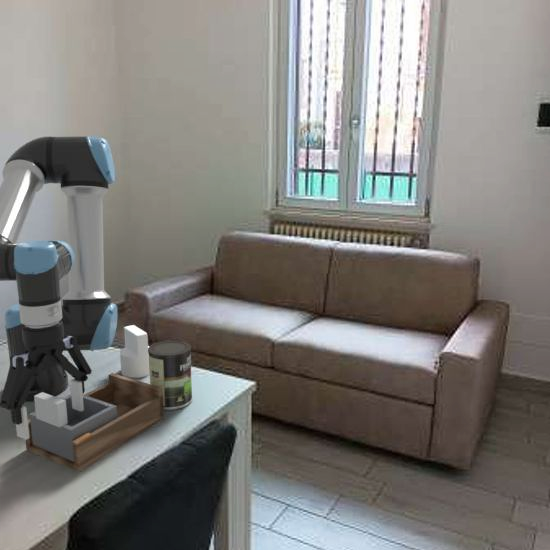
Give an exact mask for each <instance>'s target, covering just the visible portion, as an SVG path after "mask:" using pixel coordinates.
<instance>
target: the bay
mask: <svg viewBox="0 0 550 550" xmlns="http://www.w3.org/2000/svg"><path fill="white" fill-rule="evenodd" d="M83 395H86V396H89V397H92V398H94V399H97V400H100V401H103V402H106V403H109V404H112V405H115V406H117V419H115V420H113V421H111V422H110V423H108V424H106V425H104V426H102V427H101V428H99V429H97V430H95V431H93V432H92V433H86V434H85V435H83V436H81V437H79V438H77V439H76V440H74V441H72V445H73V456H74V462H73V461H71V460H68V459H66V458H64V457H61V456H59V455H57V454H54V453H52V452H49V451H47V450H45V449H42V448H40V447H38V446H35V445H33V442H32V432H31V423H30V418H28V428H29V437H30V438H29V439H27V440H26V439H24V440H25V447H26V450H27V451H29V452H31V453H34V454H35V455H39V456H40V457H43V458H45V459H48V460H50V461H52V462H54V463H57V464H59V465H61V466H64V467H66V468H68V469H71V470H73V471H75V472H78V473H80V472H82V471H84V470H85V469H86V468H88V467H90V466H91V465H93V464H94V463H95V464H96V462H98V461H99V460H101V459H103V458H105V457H106V456H108V455H109V454H111V453H113V452H114V451H115V450H117V449H119V448H120V447H122V446H124V445H126V444H127V443H129V442H130V441H132V440H133V439H135V438H137V437H138V436H140V435H142V434H143V433H146V431H148V430H150V429H152V428H153V427H155V426H156V425H158V424H160V423H161V422H162V420H163V421H165V413H164V412H165V410H164V407H163V388H161V387H157V386H154V385H151V384H150V383H147V382H143V381H141V380H137V379H135V378H131V377H126V376H123V375H122V374H121V375H120V374H117V373H113V372H112V373H109V374H108V383H105V384H104V385H101V386H99V387H97V388H94V389H92V390H90V391H88V392H87V393H83ZM159 422H160V423H159ZM154 425H155V426H154Z"/></svg>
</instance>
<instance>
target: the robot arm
mask: <svg viewBox="0 0 550 550" xmlns="http://www.w3.org/2000/svg"><path fill="white" fill-rule="evenodd" d="M115 176H116V171H115V164H114V159H113V154H112V150H111V147H110V145H109V143H108V140H106V139H105V138H103V137H100V136H99V137H96V136H88V135H86V136H41V137H37V138H34V139H32V140H30V141H28V142H27V143H25V144H23V145H22V146H21V147H19V148H18V149H16V150H15V151H14V152H13V153H12V155H10V156H9V158H8V159H7V161H6V162H5V164H4V166H3V169H2V178H3V180H2V182H1V184H0V282H5V281H6V282H8V281H16V287H17V288H16V289H17V296H18V297H17V298H18V302H17V303H14V304H13V305H11V306H9V308H7V310H6V311H5V314H4V318H5V319H4V320H5V325H4V328H5V332H6V333H5V334H6V341H7V342H6V343H7V351H8V356H9V367H8V371H7V376H6V380H5V384H4V387H3V391H2V393H1V398H0V408H3V409H6V410H8V411H10V417H11V422H12V424H15V430H16V437H18V438H21V439H24V440H25V439H26V440H27V439H29V438H30V437H29V428H28V420H29V418H28V413H27V411H28V410H27V406H24V403H25V402H32V401H33V402H35V401H34V396H35V395H37V394H39V393H42V392H43V393H46V394H49V395H52V396H55V397H56V396H57V395H59V394H62V393H63V392H64V391H66V389H67V388H68V387H69V386H70V395H71V398H72V409H75V410H78V411H83V410H84V404H83V395H84V394H85V391H86V390H85V382H86V381H88V378H89V377H88V375H91V374H92V368H91V367H90V365H89V363H88V362H87V359H86V358H85V356H84V355H83V353H82V351H90V352H94V351H98V350H99V351H100V350H106V349H108V348H110V347H111V346H112V344H113V342H114V340H115V336H116V333H117V332H116V331H117V325H118V305H117V304H116V303H113V302H111V295H109V294H108V292H106V290H105V268H104V267H105V265H104V264H105V263H104V261H105V260H104V258H105V257H104V256H105V255H104V213H103V211H104V207H103V205H104V203H103V202H104V201H103V198H104V196H106V194H107V193H108V192H109V185H112V184H114V183H115V180H116V177H115ZM47 184H60V191H61V192H62V193H63V194H64V195H65V196H66V201H67V202H66V203H67V204H66V205H67V206H66V209H67V212H66V213H67V215H66V216H67V242H65V241H63V240H58V239H53V240H37V241H35V240H34V241H25V242H21V243H17V242H18V241H19V240H18V239H19V237H20V236H21V235H20V234H21V233H22V230H23V226H24V224H25V221H26V219H27V216H28V215H29V211H30V209H31V207H32V204H33V201H34V198H35V196H36V193H37V192H40V191H41V189H43V187H44V185H47ZM67 274H68V292H66V294H65V295H64V296H63V297H62V296H61V287H60V286H61V285H60V280H61V279H63V278H64V277H65V276H66V275H67ZM61 297H62V298H61ZM63 352H68V354H69V356H70V357H71V360H72V361H73V363H74V364H75V365H74V364H73V363H71V362H70V360H69V359H68V358H67V357H66V356H65V355H64V354H63ZM67 373H68V374H67ZM68 375H70V376H71V377H73V378H72V379H69V377H68ZM69 383H70V385H69ZM26 440H25V441H26Z"/></svg>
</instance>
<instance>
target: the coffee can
mask: <svg viewBox="0 0 550 550" xmlns="http://www.w3.org/2000/svg"><path fill="white" fill-rule="evenodd" d="M149 346H150V347H149V348H148V353H149V368H150V375H149V381H150V382H149V384H151V385H154V386H157V387H161V388H163V407H164V411H166V410H167V411H170V410H171V411H172V410H173V411H174V410H179V409H183V408H184V407H187V406H189V405H190V404H191V403H192V402H193V395H192V394H193V391H192V385H193V384H192V357H191V356H192V355H191V352H192V351H191V350H192V346H191V344H190V343H188V342H185V341H181V340H164V341H163V340H162V341H159V342H155V343H153V344H151V345H149Z"/></svg>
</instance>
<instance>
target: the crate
mask: <svg viewBox="0 0 550 550" xmlns="http://www.w3.org/2000/svg"><path fill="white" fill-rule="evenodd" d="M33 402H34V410H35V411H33V412H30V413H29V419H30V423H31V432H32V442H33V445H35V446H38V447H40V448H42V449H45V450H47V451H49V452H52V453H54V454H57V455H59V456H61V457H64V458H66V459H68V460H71V461H73V462H74V456H73V445H72V441H74V440H76V439H77V438H79V437H81V436H83V435H85V434H86V433H92V432H93V431H95V430H97V429H99V428H101V427H102V426H104V425H106V424H108V423H110V422H111V421H113V420H115V419H117V406H115V405H112V404H109V403H106V402H103V401H100V400H97V399H94V398H92V397H89V396H86V395H84V394H83V404H84V410H83V411H78V410H75V409H72V398H71V394H69V395H67V396H65V397H63V398H60V397H57V396H56V395H55V396H52V395H49V394H46V393H43V392H42V393H39V394H37V395H35V396H34V401H33Z"/></svg>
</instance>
